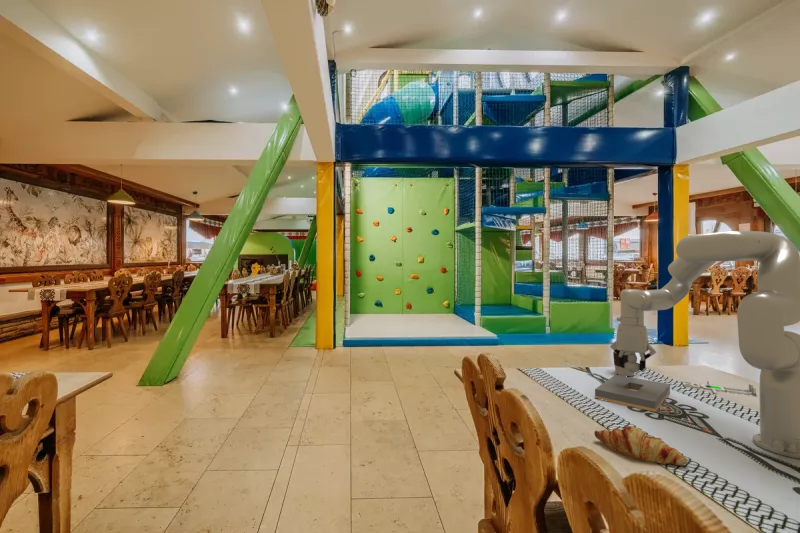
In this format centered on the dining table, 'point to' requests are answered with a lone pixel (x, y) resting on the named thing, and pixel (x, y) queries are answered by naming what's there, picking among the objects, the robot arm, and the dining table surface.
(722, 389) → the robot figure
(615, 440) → the croissant
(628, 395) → the block
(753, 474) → the dining table surface
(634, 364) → the rubber duck
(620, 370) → the coffee cup
